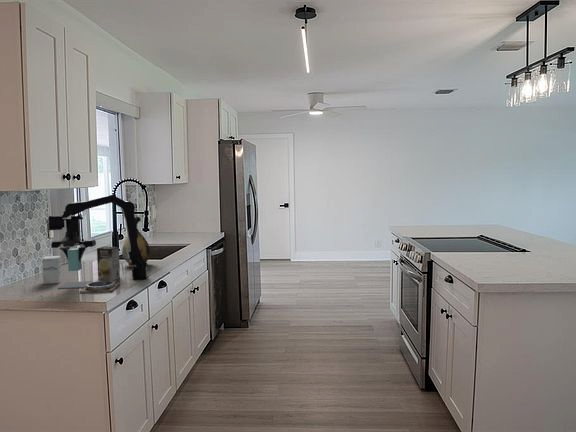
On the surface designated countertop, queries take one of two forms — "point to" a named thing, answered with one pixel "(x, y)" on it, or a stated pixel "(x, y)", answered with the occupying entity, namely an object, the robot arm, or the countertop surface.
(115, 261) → the coffee box
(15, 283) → the countertop surface
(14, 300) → the countertop surface
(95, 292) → the walnut stand
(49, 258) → the supplement box
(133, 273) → the robot arm
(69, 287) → the charcoal mat
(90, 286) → the metal ring
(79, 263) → the teal post
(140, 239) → the ceramic jug
